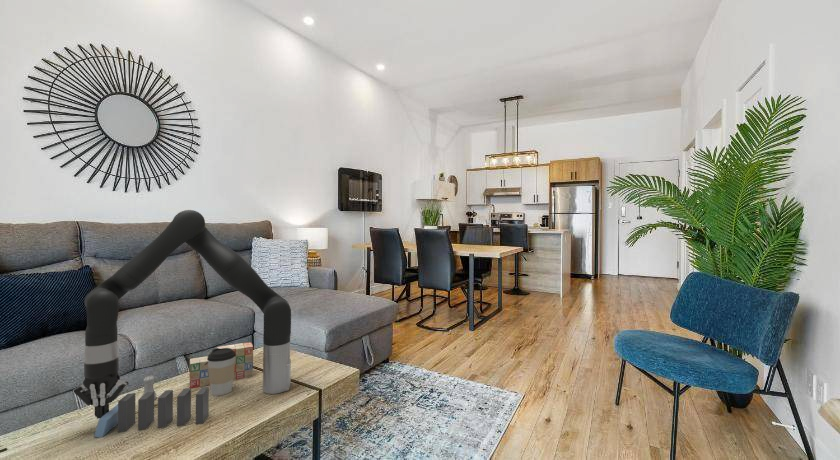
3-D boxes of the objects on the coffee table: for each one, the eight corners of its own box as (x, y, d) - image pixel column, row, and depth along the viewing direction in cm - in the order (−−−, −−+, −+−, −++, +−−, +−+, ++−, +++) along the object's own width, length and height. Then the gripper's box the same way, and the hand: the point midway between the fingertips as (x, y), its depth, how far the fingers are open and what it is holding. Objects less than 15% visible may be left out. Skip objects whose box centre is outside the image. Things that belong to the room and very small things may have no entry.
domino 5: (208, 415, 113) (208, 386, 113) (203, 423, 108) (203, 393, 108) (201, 415, 112) (201, 387, 112) (195, 424, 107) (195, 394, 107)
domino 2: (154, 420, 109) (154, 391, 109) (145, 429, 104) (146, 399, 104) (146, 421, 109) (146, 392, 109) (138, 430, 104) (138, 399, 104)
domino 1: (135, 422, 108) (135, 393, 108) (126, 431, 103) (126, 400, 103) (127, 423, 108) (127, 393, 108) (117, 432, 103) (118, 401, 103)
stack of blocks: (189, 389, 131) (189, 355, 131) (189, 382, 136) (189, 350, 136) (253, 376, 142) (253, 345, 142) (250, 371, 148) (251, 341, 148)
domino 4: (190, 416, 112) (191, 388, 112) (184, 425, 107) (184, 395, 107) (183, 417, 111) (183, 388, 111) (176, 426, 106) (177, 396, 106)
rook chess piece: (147, 404, 119) (148, 380, 119) (137, 402, 120) (137, 379, 120) (160, 397, 124) (160, 374, 124) (149, 396, 125) (149, 373, 124)
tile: (125, 404, 109) (107, 420, 101) (120, 420, 109) (102, 437, 100) (118, 403, 109) (99, 419, 100) (113, 419, 109) (93, 436, 100)
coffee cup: (241, 387, 132) (241, 347, 132) (220, 398, 123) (220, 355, 123) (222, 384, 135) (222, 344, 135) (200, 394, 126) (201, 352, 126)
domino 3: (172, 418, 110) (172, 389, 110) (165, 427, 106) (165, 397, 106) (165, 419, 110) (165, 390, 110) (157, 428, 105) (157, 398, 105)
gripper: (135, 351, 109) (135, 408, 109) (83, 355, 106) (83, 413, 106) (120, 360, 102) (120, 421, 102) (64, 364, 99) (65, 427, 99)
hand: (101, 417), depth 104 cm, fingers closed
